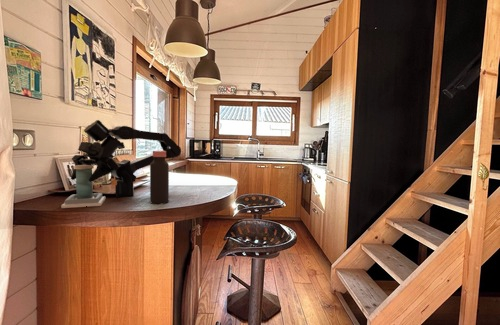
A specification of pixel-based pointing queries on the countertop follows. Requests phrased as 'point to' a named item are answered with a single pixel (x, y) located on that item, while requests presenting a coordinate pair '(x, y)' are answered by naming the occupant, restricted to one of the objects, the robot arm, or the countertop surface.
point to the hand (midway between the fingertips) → (80, 180)
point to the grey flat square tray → (83, 201)
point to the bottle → (159, 178)
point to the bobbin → (84, 181)
